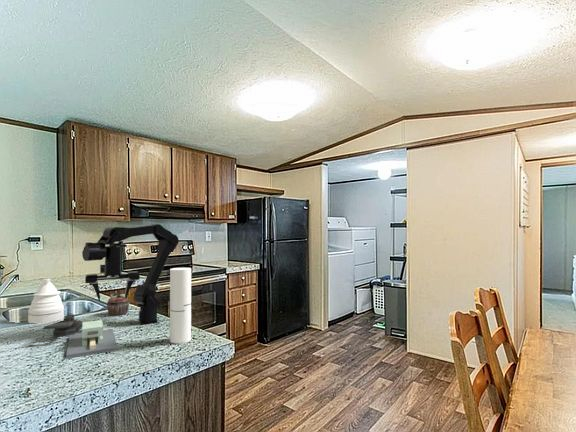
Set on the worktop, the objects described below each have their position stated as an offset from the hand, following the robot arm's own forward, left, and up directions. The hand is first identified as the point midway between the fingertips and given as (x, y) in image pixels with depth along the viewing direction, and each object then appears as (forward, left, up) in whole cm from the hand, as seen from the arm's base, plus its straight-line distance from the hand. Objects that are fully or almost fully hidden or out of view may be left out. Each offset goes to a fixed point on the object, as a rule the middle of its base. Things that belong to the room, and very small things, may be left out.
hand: (112, 299), depth 136 cm
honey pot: (+24, -34, -12) cm, 43 cm away
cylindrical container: (-20, +26, -12) cm, 35 cm away
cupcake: (-4, -29, -12) cm, 32 cm away
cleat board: (+7, +14, -12) cm, 20 cm away
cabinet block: (+7, +14, -11) cm, 19 cm away
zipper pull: (+16, -3, -12) cm, 20 cm away
